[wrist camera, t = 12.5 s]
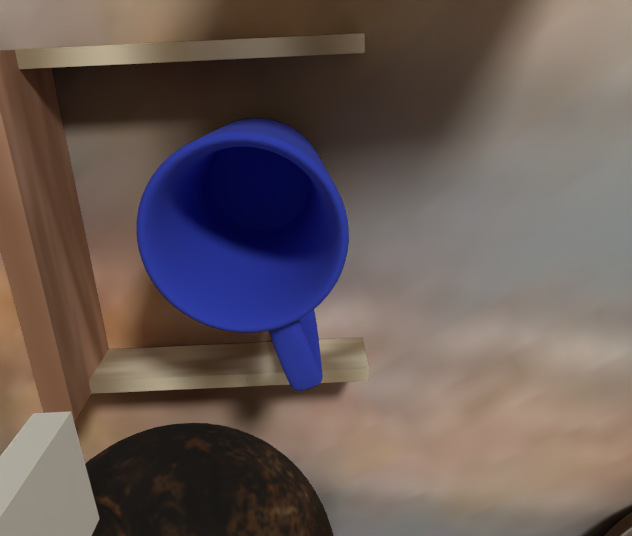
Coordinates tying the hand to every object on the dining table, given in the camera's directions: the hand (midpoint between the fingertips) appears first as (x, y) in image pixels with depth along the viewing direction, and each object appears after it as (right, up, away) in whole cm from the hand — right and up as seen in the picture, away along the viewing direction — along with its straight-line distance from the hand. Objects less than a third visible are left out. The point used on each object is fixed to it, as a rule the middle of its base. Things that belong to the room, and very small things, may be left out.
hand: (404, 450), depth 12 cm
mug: (-4, +7, +21) cm, 22 cm away
